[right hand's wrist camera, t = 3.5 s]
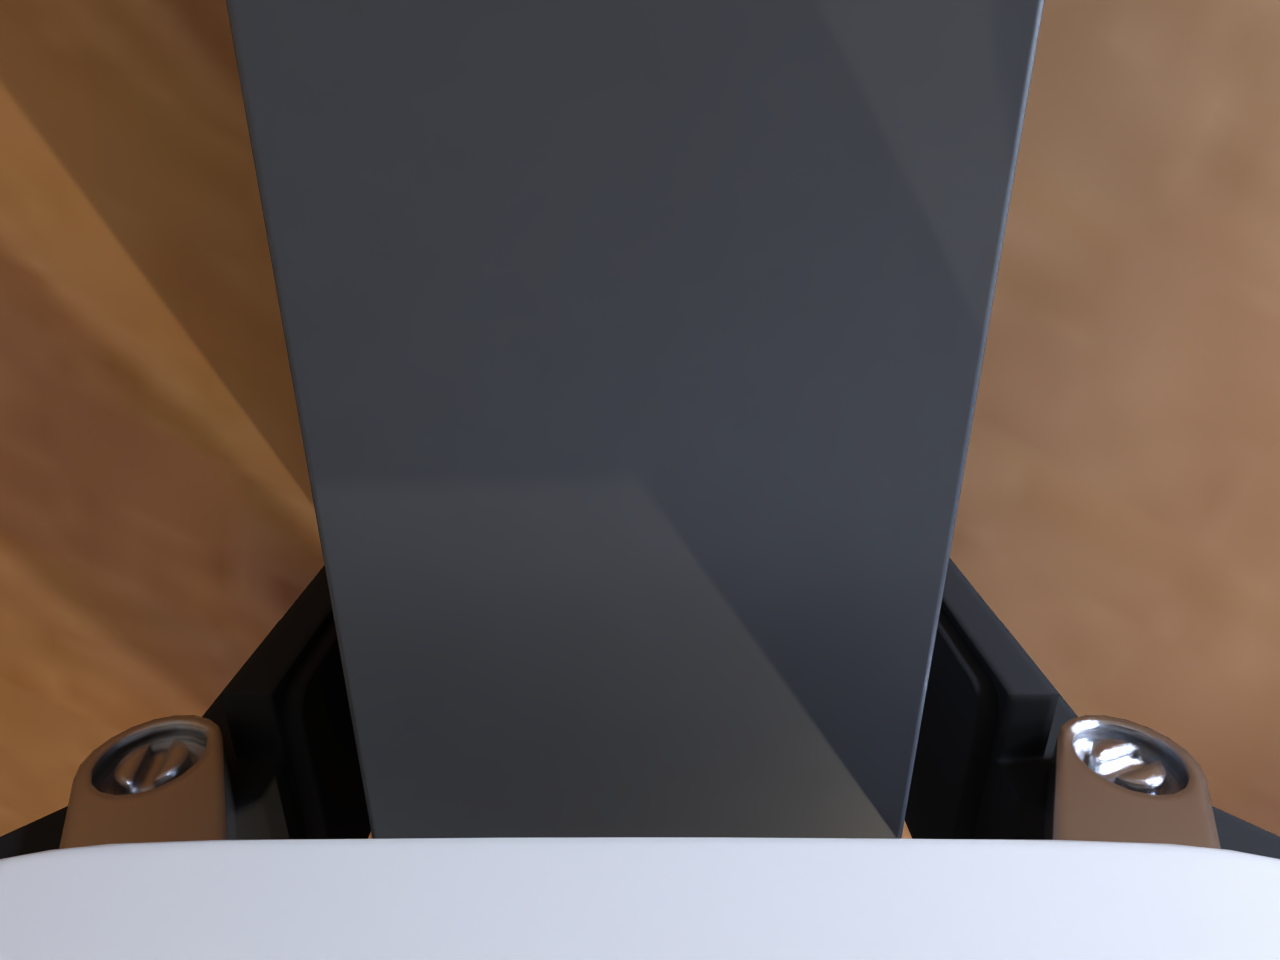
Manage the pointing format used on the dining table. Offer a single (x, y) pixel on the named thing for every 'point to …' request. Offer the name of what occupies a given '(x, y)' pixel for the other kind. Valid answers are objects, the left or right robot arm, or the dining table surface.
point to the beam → (635, 388)
